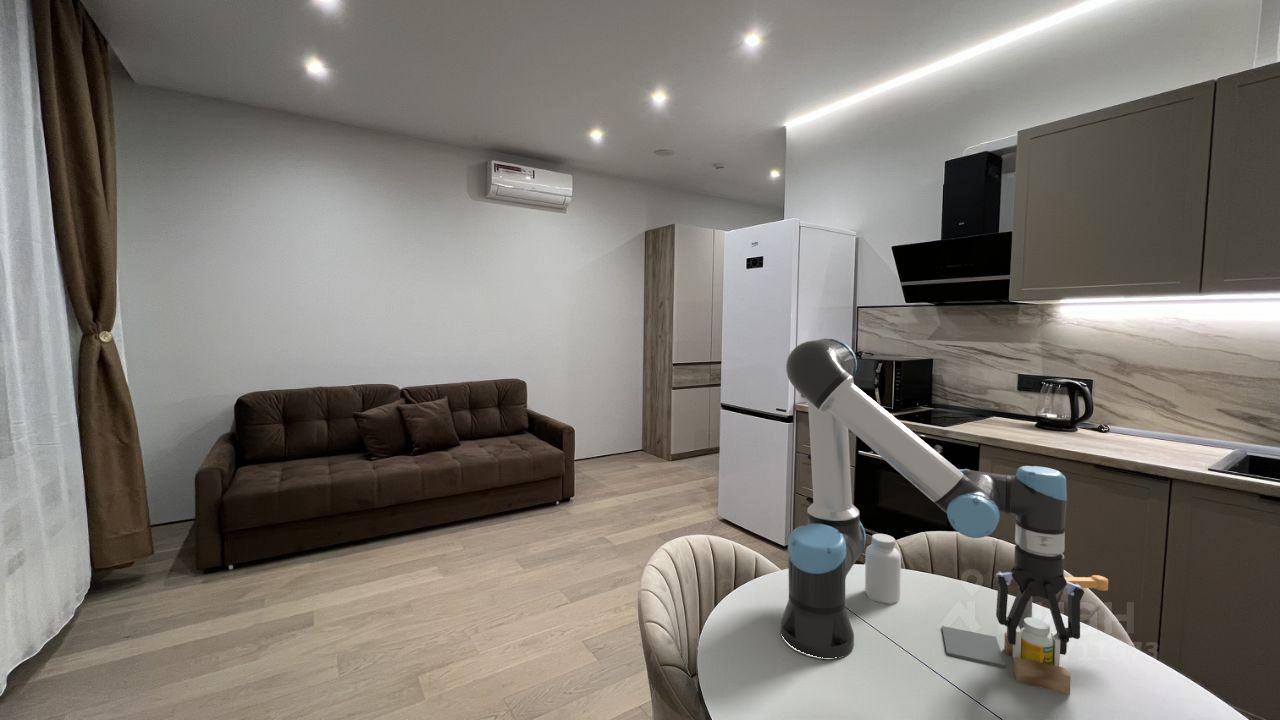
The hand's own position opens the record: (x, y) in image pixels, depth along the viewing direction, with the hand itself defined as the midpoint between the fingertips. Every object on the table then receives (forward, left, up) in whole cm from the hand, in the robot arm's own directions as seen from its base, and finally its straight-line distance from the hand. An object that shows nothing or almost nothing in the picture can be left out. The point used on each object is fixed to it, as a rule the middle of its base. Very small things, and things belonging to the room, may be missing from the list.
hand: (1035, 663), depth 100 cm
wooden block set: (0, +3, -1) cm, 3 cm away
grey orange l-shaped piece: (+7, +12, 0) cm, 13 cm away
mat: (-10, +4, -1) cm, 11 cm away
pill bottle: (-27, +18, -2) cm, 32 cm away
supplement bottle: (0, 0, -1) cm, 1 cm away
